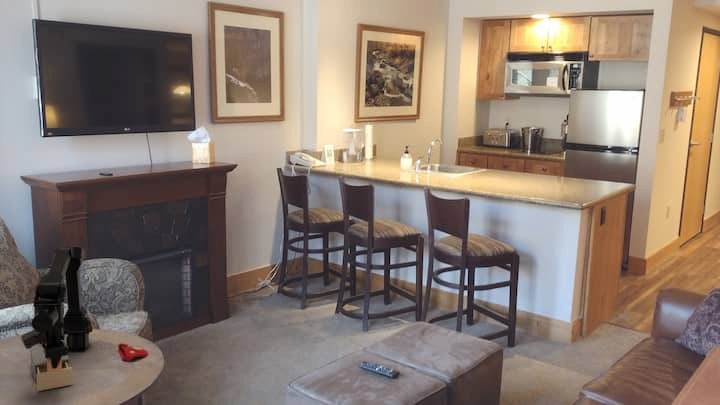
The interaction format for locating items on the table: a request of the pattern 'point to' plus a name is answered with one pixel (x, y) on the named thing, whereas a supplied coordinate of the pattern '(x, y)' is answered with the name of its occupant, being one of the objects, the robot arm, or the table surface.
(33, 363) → the sleeve
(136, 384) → the table surface
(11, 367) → the table surface
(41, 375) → the beige open box
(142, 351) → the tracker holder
